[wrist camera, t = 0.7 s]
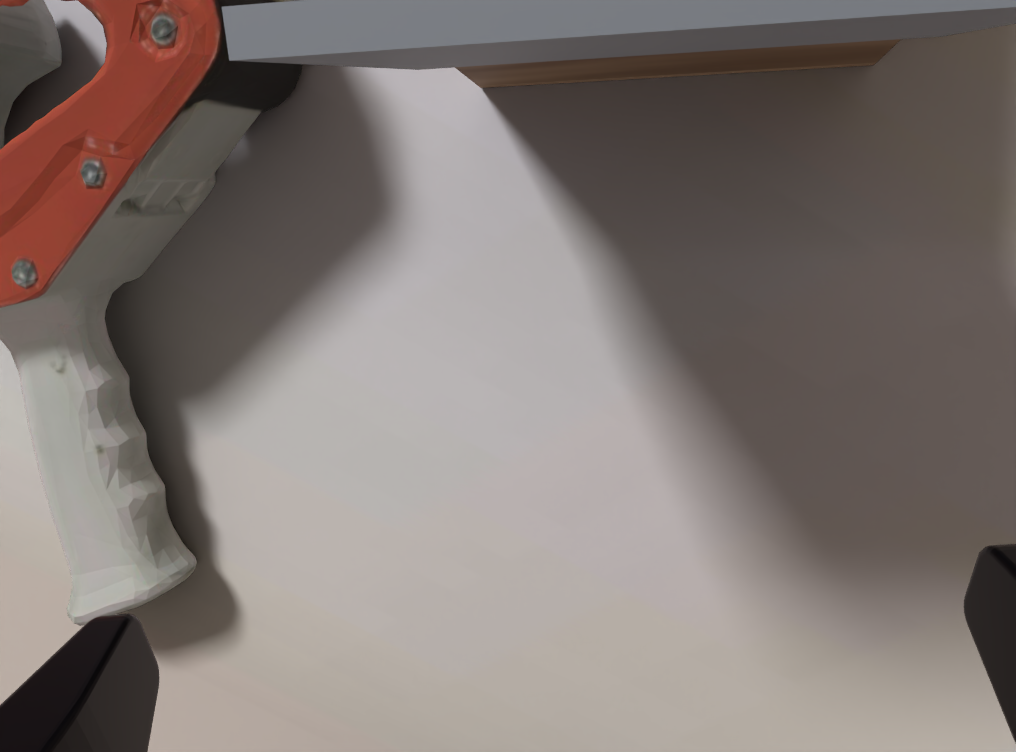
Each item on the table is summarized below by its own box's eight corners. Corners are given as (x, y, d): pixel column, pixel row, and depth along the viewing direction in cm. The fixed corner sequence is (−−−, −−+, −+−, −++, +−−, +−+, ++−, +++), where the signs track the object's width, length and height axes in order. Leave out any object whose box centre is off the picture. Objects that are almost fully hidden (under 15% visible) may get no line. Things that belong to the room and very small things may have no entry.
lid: (944, 1, 16) (941, 36, 16) (415, 38, 18) (417, 69, 18) (1178, -71, 8) (1166, -4, 9) (221, 5, 10) (229, 60, 10)
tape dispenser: (187, 609, 30) (520, 109, 24) (86, 698, 25) (477, 93, 19) (-215, 302, 30) (15, -266, 24) (-396, 330, 25) (-161, -380, 19)
